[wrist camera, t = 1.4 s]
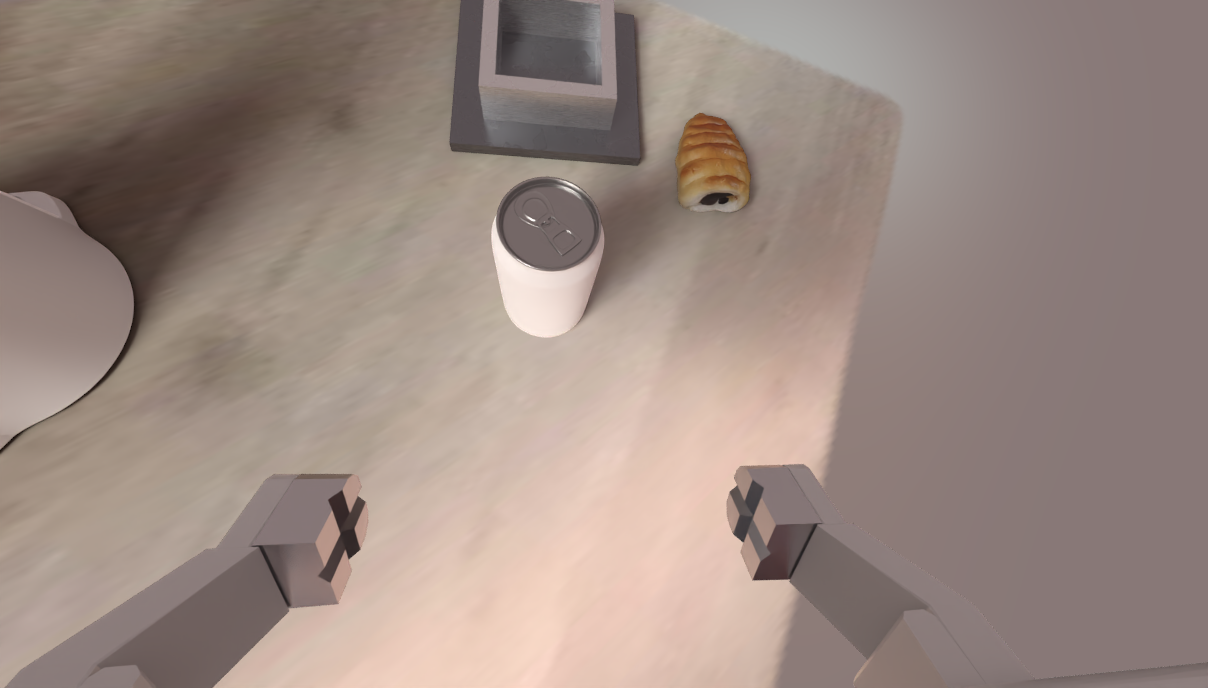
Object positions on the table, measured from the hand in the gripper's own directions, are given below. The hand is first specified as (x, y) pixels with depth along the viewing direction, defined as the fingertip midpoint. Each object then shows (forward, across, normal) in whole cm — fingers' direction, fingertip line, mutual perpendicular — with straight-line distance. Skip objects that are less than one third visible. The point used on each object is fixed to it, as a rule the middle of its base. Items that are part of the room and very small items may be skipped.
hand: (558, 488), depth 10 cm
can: (+26, 0, +7) cm, 27 cm away
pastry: (+35, -14, -1) cm, 38 cm away
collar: (+40, 0, -8) cm, 41 cm away
